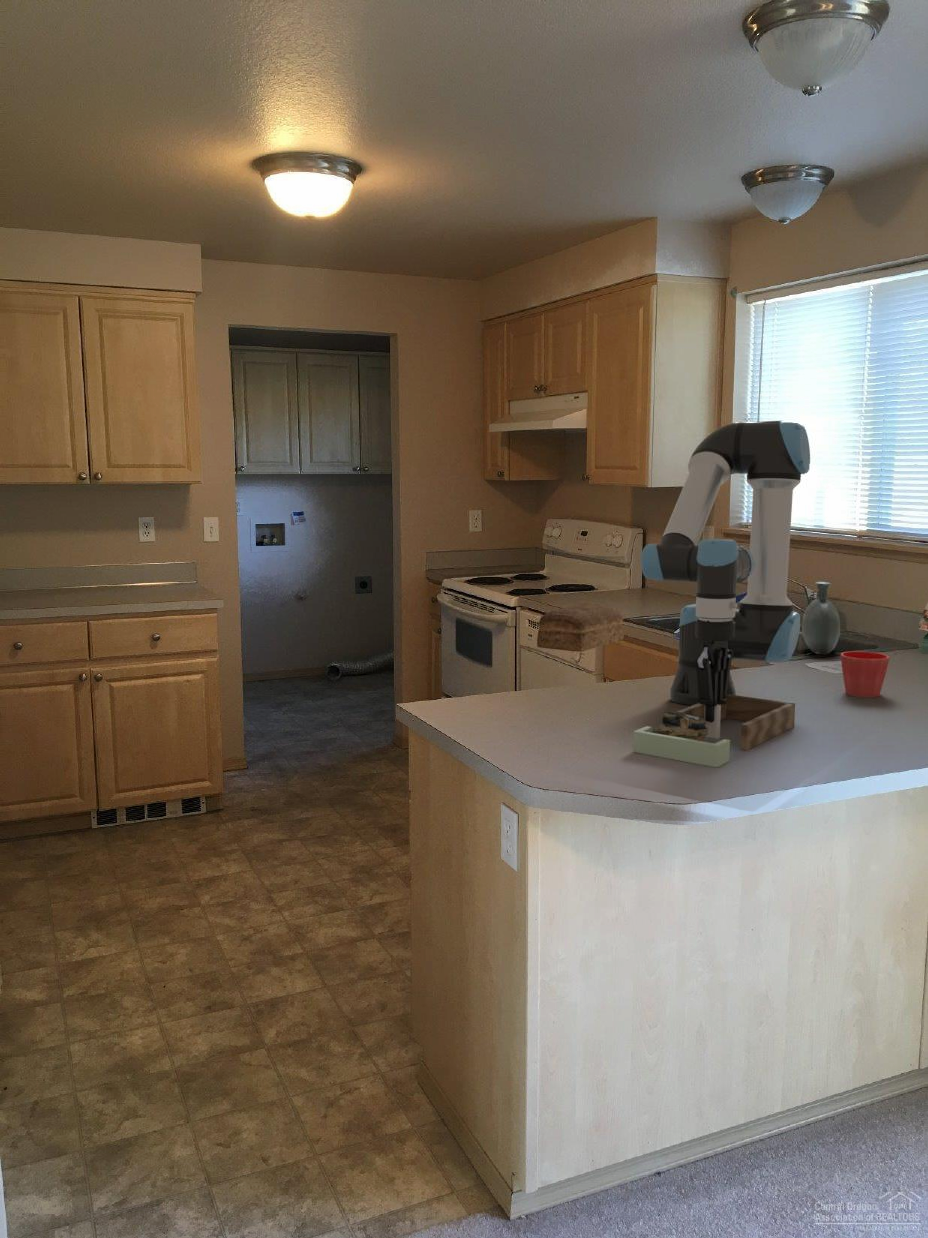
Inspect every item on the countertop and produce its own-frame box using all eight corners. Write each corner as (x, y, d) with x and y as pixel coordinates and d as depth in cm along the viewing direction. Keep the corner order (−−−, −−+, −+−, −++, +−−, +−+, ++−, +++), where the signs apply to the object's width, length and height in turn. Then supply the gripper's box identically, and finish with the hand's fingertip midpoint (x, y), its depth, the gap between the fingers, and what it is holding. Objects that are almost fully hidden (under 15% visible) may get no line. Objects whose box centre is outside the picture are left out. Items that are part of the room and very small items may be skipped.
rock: (647, 741, 197) (648, 712, 196) (681, 738, 202) (682, 709, 201) (679, 750, 190) (680, 720, 189) (713, 746, 195) (715, 717, 194)
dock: (717, 767, 181) (717, 745, 181) (632, 751, 192) (633, 731, 192) (729, 761, 185) (730, 740, 185) (646, 746, 196) (646, 726, 196)
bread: (627, 643, 324) (628, 602, 322) (579, 656, 299) (580, 612, 298) (581, 638, 334) (581, 599, 332) (531, 651, 309) (531, 608, 308)
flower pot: (891, 699, 238) (893, 659, 237) (842, 697, 241) (844, 657, 239) (882, 690, 249) (884, 652, 247) (835, 689, 251) (837, 650, 250)
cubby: (746, 750, 193) (747, 725, 192) (671, 737, 203) (672, 713, 202) (794, 726, 212) (795, 703, 211) (723, 716, 222) (724, 693, 221)
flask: (846, 653, 304) (849, 580, 301) (833, 661, 289) (836, 585, 286) (806, 649, 310) (810, 578, 307) (792, 657, 296) (795, 583, 293)
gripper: (718, 624, 189) (715, 746, 192) (747, 616, 199) (743, 733, 202) (682, 620, 193) (679, 740, 197) (712, 613, 203) (708, 727, 207)
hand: (711, 736), depth 199 cm, fingers closed
